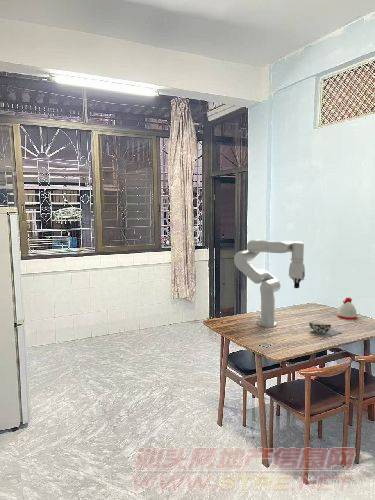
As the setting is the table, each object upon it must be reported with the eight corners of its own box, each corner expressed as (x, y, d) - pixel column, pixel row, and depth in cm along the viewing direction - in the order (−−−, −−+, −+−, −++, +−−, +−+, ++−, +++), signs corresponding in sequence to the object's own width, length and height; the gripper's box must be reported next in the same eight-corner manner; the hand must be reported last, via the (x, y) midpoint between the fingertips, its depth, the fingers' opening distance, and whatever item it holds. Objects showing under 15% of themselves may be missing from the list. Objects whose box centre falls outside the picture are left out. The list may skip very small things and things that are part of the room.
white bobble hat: (361, 318, 274) (361, 298, 273) (347, 320, 269) (347, 300, 267) (346, 313, 287) (347, 294, 285) (332, 315, 282) (333, 296, 280)
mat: (310, 332, 242) (310, 331, 242) (326, 328, 251) (326, 327, 251) (326, 337, 232) (326, 336, 232) (341, 332, 241) (341, 332, 241)
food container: (306, 331, 245) (313, 333, 235) (306, 322, 246) (314, 324, 236) (323, 332, 247) (331, 334, 237) (323, 323, 247) (331, 324, 238)
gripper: (284, 259, 246) (284, 286, 247) (302, 262, 233) (302, 290, 235) (292, 259, 250) (291, 285, 251) (310, 261, 237) (309, 289, 239)
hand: (296, 287), depth 243 cm, fingers closed
